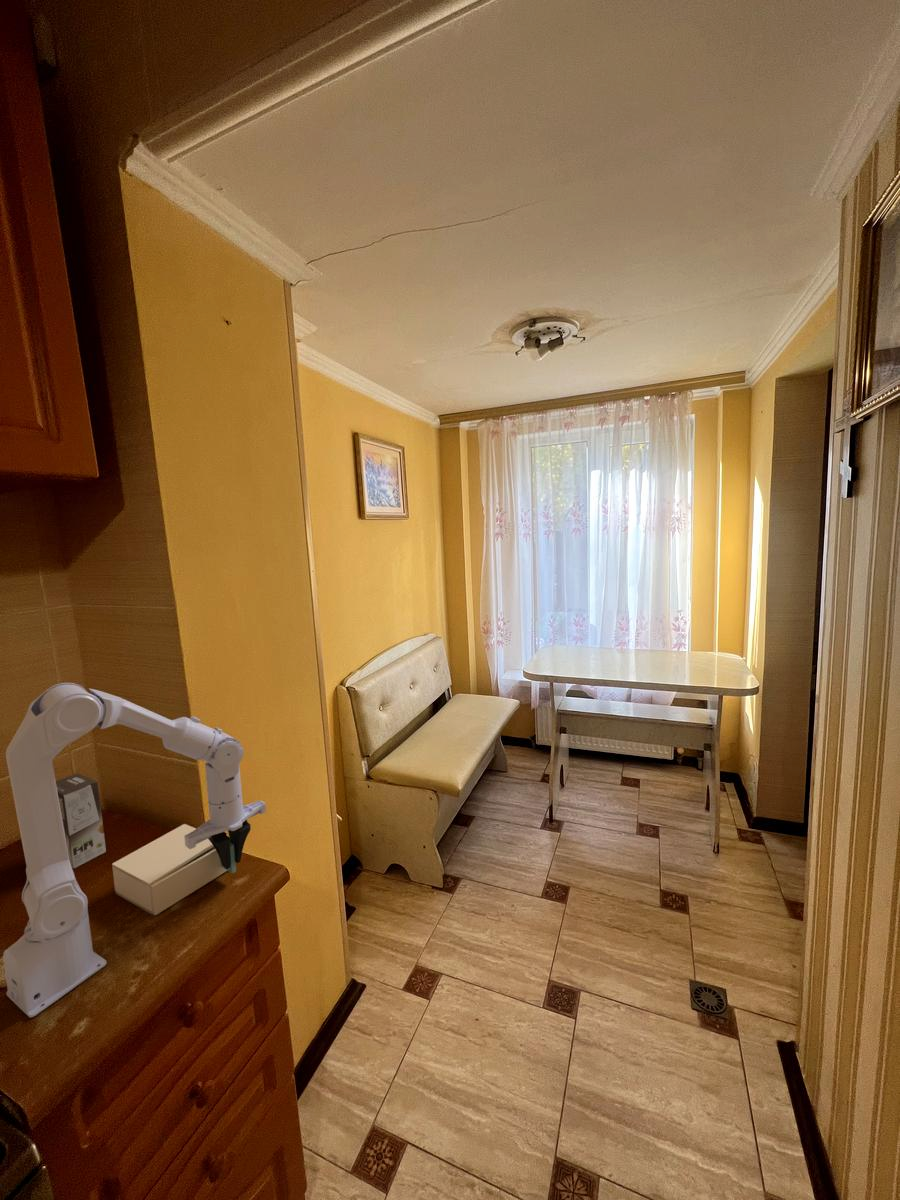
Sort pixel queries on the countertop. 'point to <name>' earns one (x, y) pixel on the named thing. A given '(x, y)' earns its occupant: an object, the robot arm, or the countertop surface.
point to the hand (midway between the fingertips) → (231, 863)
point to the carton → (155, 865)
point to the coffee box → (81, 818)
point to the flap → (189, 879)
